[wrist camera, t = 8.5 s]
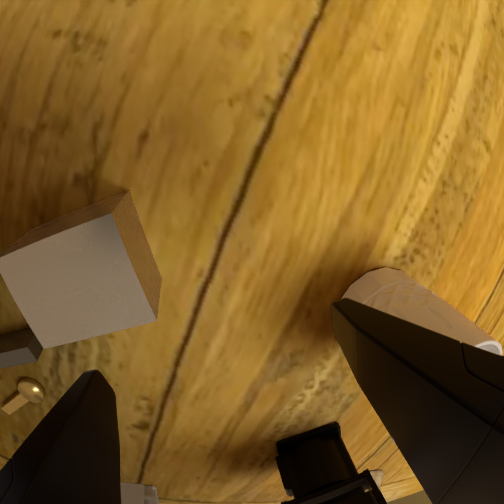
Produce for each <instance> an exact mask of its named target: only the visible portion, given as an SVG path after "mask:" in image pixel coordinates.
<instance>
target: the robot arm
mask: <svg viewBox="0 0 504 504" xmlns="http://www.w3.org/2000/svg"><path fill="white" fill-rule="evenodd" d="M331 315H332V323H333V330H334V333H335V336H336V338H337V340H338V342H339V344H340V347H341V349H342V351H343V353H344V355H345V357H346V359H347V361H348V363H349V366H350V368H351V370H352V372H353V374H354V376H355V378H356V380H357V382H358V384H359V386H360V387H361V389H362V391H363V392H364V394H365V395H366V397H367V399H368V400H369V402H370V403H371V405H372V406H373V408H374V410H375V411H376V413H377V414H378V416H379V418H380V419H381V421H382V422H383V424H384V426H385V427H386V429H387V430H388V432H389V434H390V435H391V437H392V438H393V440H394V442H395V443H396V445H397V446H398V448H399V450H400V451H401V453H402V455H403V456H404V458H405V459H406V461H407V463H408V464H409V466H410V467H411V469H412V471H413V472H414V474H415V476H416V477H417V479H418V481H419V482H420V484H421V485H422V487H423V489H424V490H425V492H426V494H427V495H428V497H429V499H430V500H431V502H432V503H433V504H504V356H502V355H498V354H495V353H492V352H489V351H486V350H483V349H480V348H478V347H475V346H472V345H469V344H467V343H464V342H462V343H460V341H459V340H456V339H453V338H451V337H448V336H445V335H443V334H440V333H438V332H435V331H432V330H430V329H427V328H424V327H422V326H419V325H417V324H414V323H411V322H409V321H406V320H404V319H401V318H398V317H396V316H393V315H391V314H388V313H385V312H383V311H380V310H378V309H375V308H372V307H370V306H367V305H365V304H362V303H360V302H357V301H354V300H352V299H349V298H342V299H339V300H337V301H334V302H332V303H331ZM276 448H277V451H278V453H279V455H278V456H276V458H275V459H276V462H277V465H278V469H279V472H280V475H281V479H282V482H283V485H284V488H285V491H286V493H287V495H288V496H290V497H291V496H294V499H293V500H290V501H285V502H281V504H387V503H386V501H385V499H384V497H383V495H382V493H381V491H380V490H379V488H378V486H377V484H376V482H375V481H374V479H373V477H372V475H371V474H370V472H369V470H368V469H366V470H364V471H363V472H362V473H360V474H358V472H357V470H356V468H355V465H354V463H353V461H352V459H351V457H350V455H349V453H348V451H347V449H346V446H345V444H344V442H343V440H342V438H341V431H340V425H339V423H333V424H331V425H328V426H325V427H323V428H320V429H317V430H314V431H311V432H308V433H305V434H302V435H299V436H296V437H293V438H290V439H287V440H284V441H280V442H278V443H276ZM367 489H368V491H367V492H365V490H367ZM0 504H121V485H120V443H119V432H118V421H117V408H116V396H115V393H114V391H113V389H112V387H111V386H110V385H109V383H108V382H107V380H106V379H105V378H104V376H103V375H102V373H101V372H100V371H99V370H96V369H95V370H90V371H86V372H84V373H83V374H82V375H81V376H80V377H79V378H78V379H77V380H76V381H75V383H74V384H73V385H72V386H71V387H70V388H69V389H68V391H67V392H66V393H65V394H64V395H63V396H62V397H61V399H60V400H59V401H58V402H57V403H56V404H55V406H54V407H53V408H52V409H51V410H50V411H49V413H48V414H47V415H46V416H45V417H44V418H43V420H42V421H41V422H40V423H39V424H38V426H37V427H36V428H35V429H34V430H33V432H32V433H31V434H30V435H29V436H28V438H27V439H26V440H25V441H24V442H23V444H22V445H21V446H20V447H19V448H18V450H17V451H16V452H15V453H14V455H13V456H12V458H10V459H9V461H8V462H7V463H6V465H5V466H4V467H3V468H2V469H1V471H0Z"/></svg>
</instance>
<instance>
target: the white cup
mask: <svg viewBox="0 0 504 504" xmlns="http://www.w3.org/2000/svg"><path fill="white" fill-rule="evenodd" d="M342 298H349V299H352V300H354V301H357V302H360V303H362V304H365V305H367V306H370V307H372V308H375V309H378V310H380V311H383V312H385V313H388V314H391V315H393V316H396V317H398V318H401V319H404V320H406V321H409V322H411V323H414V324H417V325H419V326H422V327H424V328H427V329H430V330H432V331H435V332H438V333H440V334H443V335H445V336H448V337H451V338H453V339H456V340H459V341H460V343H462V342H464V343H467V344H469V345H472V346H475V347H478V348H480V349H483V350H486V351H489V352H492V353H495V354H498V355H502V347H501V345H500V343H499V342H497V341H496V340H495V339H494V338H493V337H491V336H490V335H489V334H488V333H486V332H485V331H484V330H483V329H481V328H480V327H479V326H478V325H476V324H475V323H474V322H472V321H471V320H470V319H469V318H467V317H466V316H465V315H464V314H462V313H461V312H460V311H459V310H457V309H456V308H455V307H453V306H452V305H451V304H449V303H448V302H447V301H445V300H444V299H442V298H440V297H439V296H437V295H436V294H435V293H434V292H432V291H431V290H429V289H428V288H426V287H424V286H422V285H421V284H419V283H417V282H416V281H415V280H413V279H412V278H411V277H409V276H408V275H407V274H405V273H404V272H403V271H400V270H396V269H392V268H388V267H384V268H381V269H377V270H373V271H370V272H367V273H366V274H365V275H363V276H362V277H360V278H359V279H358V280H356V281H355V282H354V283H352V284H351V285H350V286H349V288H348V289H347V291H346V292H345V294H344V295H343V296H342ZM342 298H341V299H342ZM390 436H391V435H390ZM391 438H392V437H391ZM392 440H393V438H392ZM393 442H394V440H393ZM394 443H395V442H394ZM395 444H396V443H395Z"/></svg>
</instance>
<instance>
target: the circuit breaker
mask: <svg viewBox="0 0 504 504" xmlns="http://www.w3.org/2000/svg"><path fill="white" fill-rule="evenodd" d="M120 485H121V504H159V501H158V495H157V490H156V485H152V486H145V485H144V484H134V483H124V482H120Z"/></svg>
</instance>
